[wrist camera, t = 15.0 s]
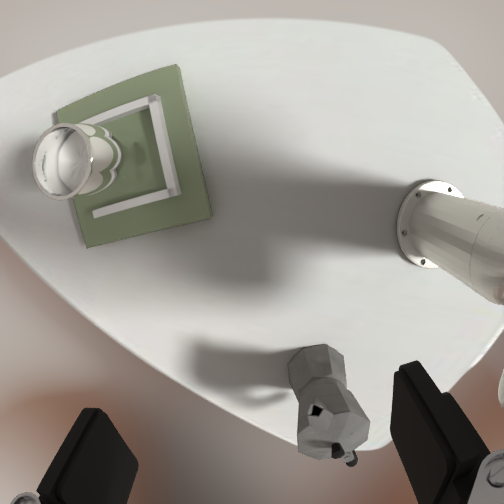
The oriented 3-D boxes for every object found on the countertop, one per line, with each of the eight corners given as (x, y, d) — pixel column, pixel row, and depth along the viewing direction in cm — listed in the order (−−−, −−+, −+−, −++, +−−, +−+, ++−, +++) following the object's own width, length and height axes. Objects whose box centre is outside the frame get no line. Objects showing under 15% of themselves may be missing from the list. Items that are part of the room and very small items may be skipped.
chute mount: (179, 68, 35) (172, 59, 31) (212, 215, 41) (207, 221, 37) (63, 112, 36) (48, 109, 33) (93, 244, 42) (79, 252, 38)
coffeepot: (268, 351, 46) (274, 442, 29) (326, 322, 45) (359, 407, 27) (311, 412, 50) (327, 496, 32) (361, 388, 48) (393, 469, 31)
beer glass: (92, 159, 36) (19, 164, 22) (128, 120, 35) (63, 103, 21) (124, 197, 38) (59, 219, 23) (162, 159, 37) (109, 159, 22)
